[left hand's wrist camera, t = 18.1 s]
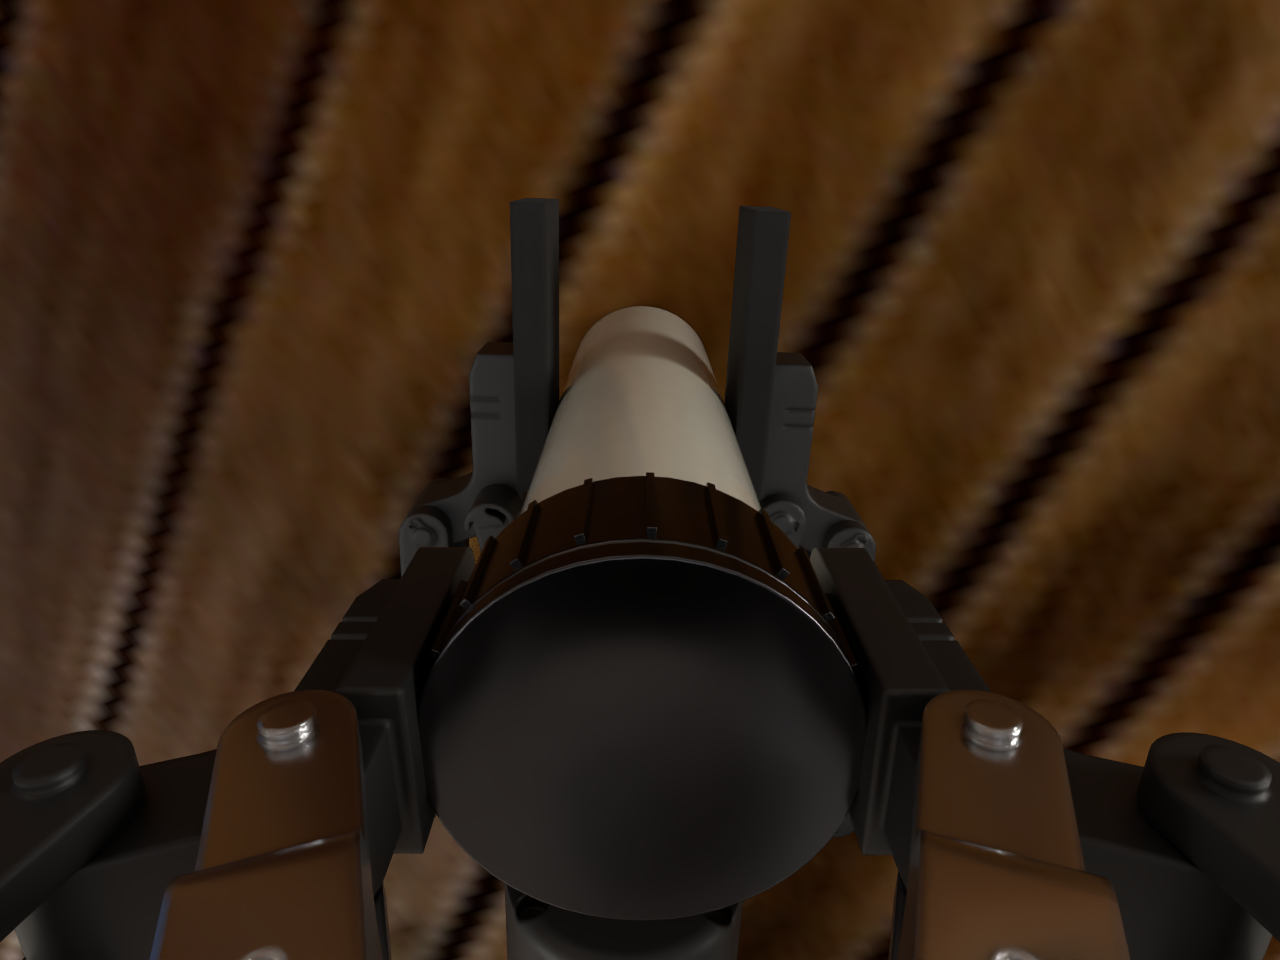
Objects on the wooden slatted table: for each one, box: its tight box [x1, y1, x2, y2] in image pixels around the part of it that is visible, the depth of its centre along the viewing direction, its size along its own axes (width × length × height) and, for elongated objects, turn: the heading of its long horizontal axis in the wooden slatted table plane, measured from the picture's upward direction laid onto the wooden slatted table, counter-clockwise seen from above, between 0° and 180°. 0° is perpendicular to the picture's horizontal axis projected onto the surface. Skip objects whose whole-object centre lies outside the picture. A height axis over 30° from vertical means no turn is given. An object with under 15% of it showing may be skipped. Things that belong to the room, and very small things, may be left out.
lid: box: [418, 472, 867, 920], centre depth 10 cm, size 5×5×2 cm
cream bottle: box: [520, 306, 761, 515], centre depth 17 cm, size 4×4×17 cm
